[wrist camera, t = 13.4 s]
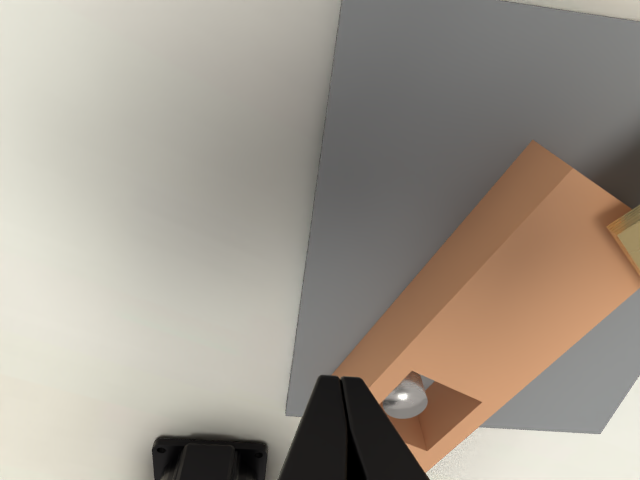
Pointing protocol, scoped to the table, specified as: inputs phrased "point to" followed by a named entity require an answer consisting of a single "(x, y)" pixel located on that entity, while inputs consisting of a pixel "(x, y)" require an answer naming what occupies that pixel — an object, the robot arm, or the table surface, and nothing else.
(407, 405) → the cylinder
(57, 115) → the table surface
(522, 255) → the link
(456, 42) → the mat
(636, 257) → the keeper
